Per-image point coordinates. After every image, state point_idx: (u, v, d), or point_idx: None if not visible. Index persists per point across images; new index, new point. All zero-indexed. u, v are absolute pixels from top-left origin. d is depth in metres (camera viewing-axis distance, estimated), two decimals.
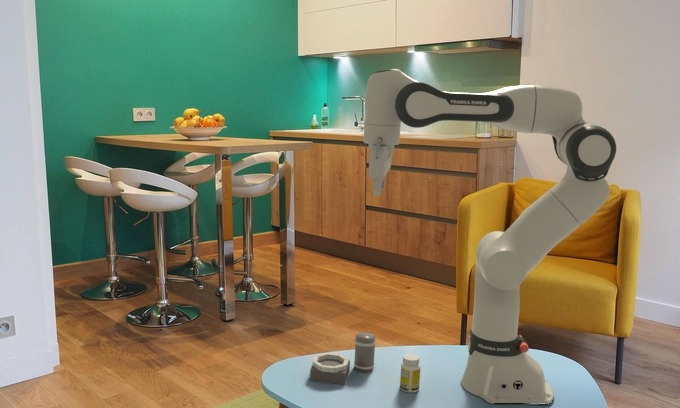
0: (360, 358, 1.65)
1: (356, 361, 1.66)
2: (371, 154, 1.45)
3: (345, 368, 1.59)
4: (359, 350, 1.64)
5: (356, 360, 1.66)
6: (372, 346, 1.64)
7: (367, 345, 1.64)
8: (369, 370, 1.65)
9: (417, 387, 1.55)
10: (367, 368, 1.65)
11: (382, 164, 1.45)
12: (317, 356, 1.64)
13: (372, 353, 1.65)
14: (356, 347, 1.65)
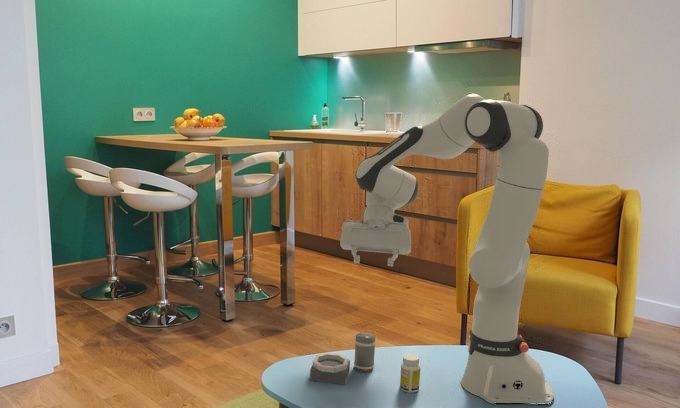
0: (360, 358, 1.65)
1: (356, 361, 1.66)
2: None
3: (345, 368, 1.59)
4: (359, 350, 1.64)
5: (356, 360, 1.66)
6: (372, 346, 1.64)
7: (367, 345, 1.64)
8: (369, 370, 1.65)
9: (417, 387, 1.55)
10: (367, 368, 1.65)
11: None
12: (317, 356, 1.64)
13: (372, 353, 1.65)
14: (356, 347, 1.65)
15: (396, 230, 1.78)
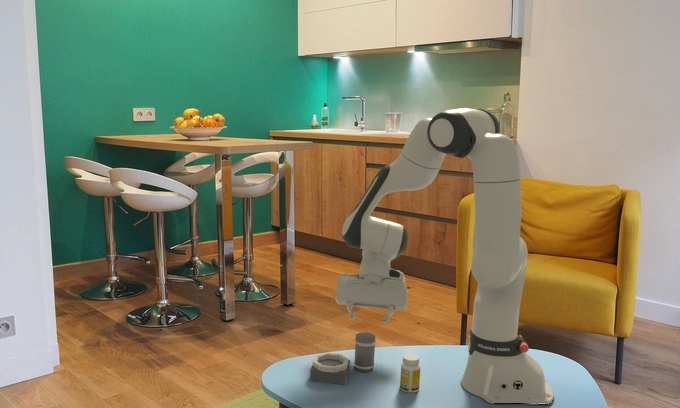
0: (360, 358, 1.65)
1: (356, 361, 1.66)
2: None
3: (345, 368, 1.59)
4: (359, 350, 1.64)
5: (356, 360, 1.66)
6: (372, 346, 1.64)
7: (367, 345, 1.64)
8: (369, 370, 1.65)
9: (417, 387, 1.55)
10: (367, 368, 1.65)
11: (337, 288, 1.77)
12: (317, 356, 1.64)
13: (372, 353, 1.65)
14: (356, 347, 1.65)
15: (392, 285, 1.76)
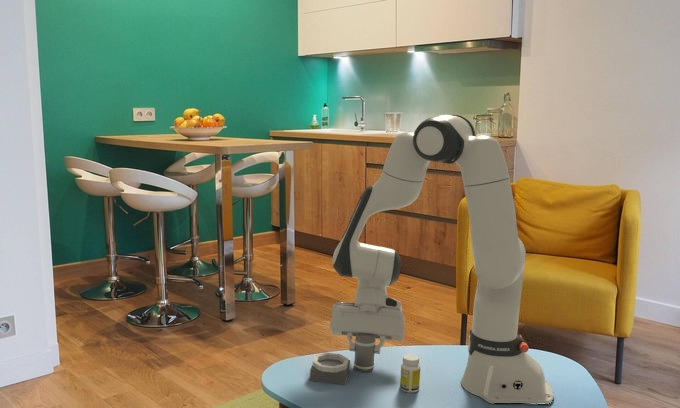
0: (360, 358, 1.65)
1: (356, 361, 1.66)
2: None
3: (345, 368, 1.59)
4: (359, 350, 1.64)
5: (356, 360, 1.66)
6: (372, 346, 1.64)
7: (367, 345, 1.64)
8: (369, 370, 1.65)
9: (417, 387, 1.55)
10: (367, 368, 1.65)
11: None
12: (317, 356, 1.64)
13: (372, 353, 1.65)
14: (356, 347, 1.65)
15: (389, 314, 1.70)
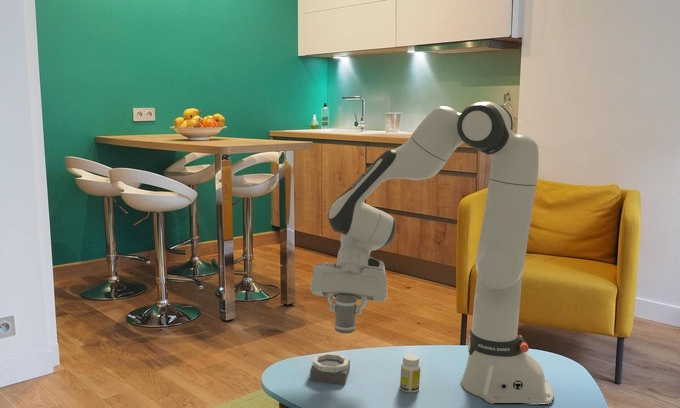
0: (340, 319, 1.60)
1: (336, 321, 1.61)
2: None
3: (345, 368, 1.59)
4: (340, 310, 1.59)
5: (336, 320, 1.61)
6: (353, 306, 1.60)
7: (348, 305, 1.59)
8: (350, 331, 1.60)
9: (417, 387, 1.55)
10: (348, 329, 1.60)
11: (312, 278, 1.66)
12: (317, 356, 1.64)
13: (353, 313, 1.60)
14: (336, 307, 1.60)
15: (371, 275, 1.65)
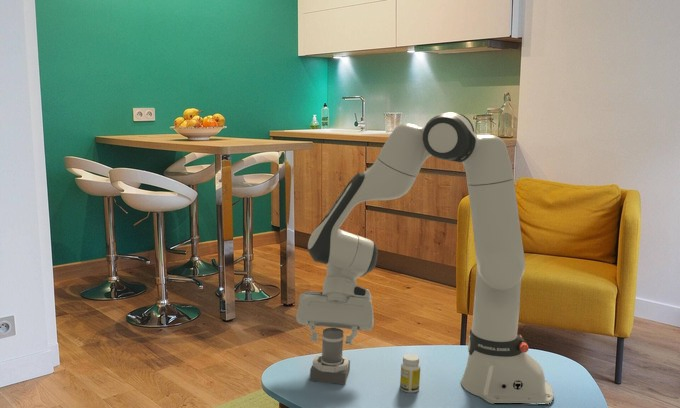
0: (327, 354, 1.59)
1: (323, 357, 1.60)
2: None
3: (345, 368, 1.59)
4: (326, 346, 1.59)
5: (323, 356, 1.60)
6: (340, 342, 1.59)
7: (334, 340, 1.58)
8: None
9: (417, 387, 1.55)
10: (334, 364, 1.59)
11: (298, 307, 1.65)
12: (317, 356, 1.64)
13: (340, 349, 1.59)
14: (323, 343, 1.60)
15: (357, 303, 1.64)
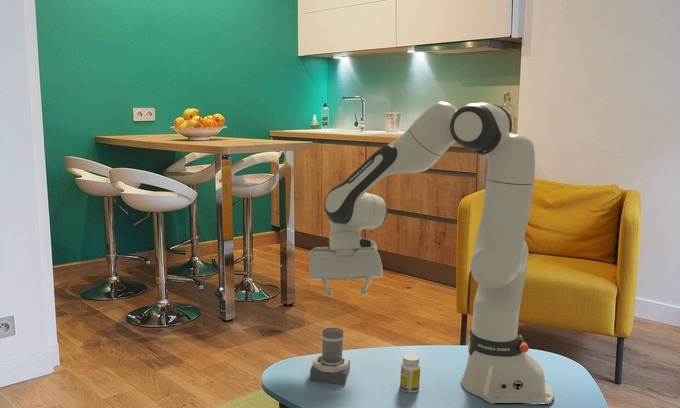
0: (327, 354, 1.59)
1: (323, 357, 1.60)
2: None
3: (345, 368, 1.59)
4: (326, 345, 1.59)
5: (323, 356, 1.60)
6: (339, 341, 1.59)
7: (334, 340, 1.58)
8: None
9: (417, 387, 1.55)
10: (334, 364, 1.59)
11: None
12: (317, 356, 1.64)
13: (340, 349, 1.59)
14: (323, 342, 1.60)
15: (365, 255, 1.72)
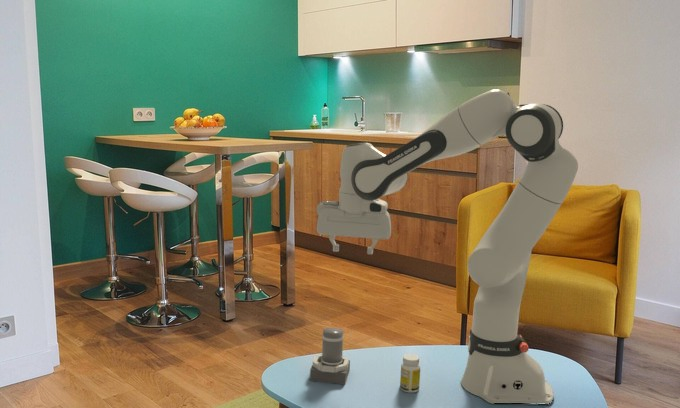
0: (327, 354, 1.59)
1: (323, 357, 1.60)
2: None
3: (345, 368, 1.59)
4: (326, 345, 1.59)
5: (323, 356, 1.60)
6: (339, 341, 1.59)
7: (334, 340, 1.58)
8: None
9: (417, 387, 1.55)
10: (334, 364, 1.59)
11: None
12: (317, 356, 1.64)
13: (340, 349, 1.59)
14: (323, 342, 1.60)
15: (374, 217, 1.67)
